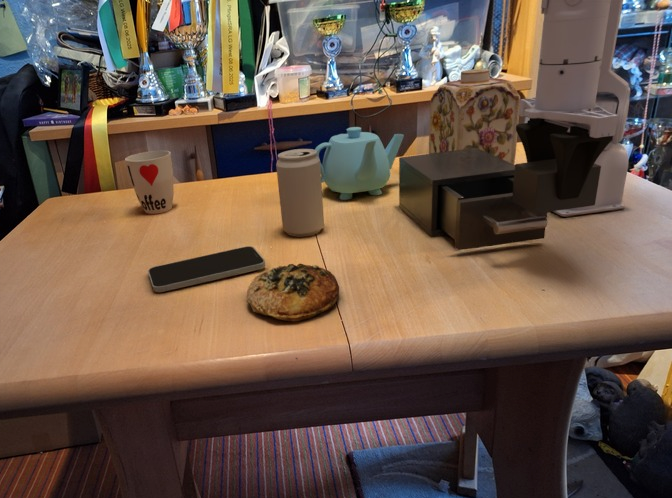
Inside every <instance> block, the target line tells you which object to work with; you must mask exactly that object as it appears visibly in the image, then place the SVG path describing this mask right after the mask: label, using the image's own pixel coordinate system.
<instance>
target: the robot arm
mask: <svg viewBox="0 0 672 498" xmlns="http://www.w3.org/2000/svg"><path fill="white" fill-rule="evenodd" d="M623 5H624V0H541V5H540V8H541V11H540V13H541V15H543V23H542V32H541V40H540V41H541V42H540V51H539V62H538V69H537V70H538V71H537V80H536V87H535V88H536V89H535V90H536V91H535V97H528V98H520V111H519V117H520V118H528V119H529V120H527V122H523V123H519V124H518V125H516V131H517V136H518V138H519V139H520V142H521V144H522V147H523V150H524V155H525V158H526V163H528V162H535V161H543V160H550V159H556V166H557V176H556V190H557V197H558V199H560V200H565V199H572V198H578V197H579V195H580V192H581V190H582V188H583V186H584V183H585V181H586V179H587V177H588V174H589V172H590V170H591V168H592V167H593V165H594V164H597V165H600V166H601V171H600V177H599V183H598V189H597V195H596V202H595V205H594V206H587V207H579V208H572V209H565V210H558V211H551V212H552V213H554V214H556V215H558V216H560V217H563V218H564V217H572V216H579V215H586V214H593V213H594V214H595V213H601V212H602V213H603V212H608V211H615V210H624V209H625V208H626V205H625V204H623V203H622V202H623V196H624V192H625V191H624V190H625V187H626V180H627V175H628V169H629V156H628V152H627V149H626V148H625V146H623V145H622V144H620V142H622V141H623V138H624V136H625V135H624V134H625V130H626V125H627V120H628V115H629V107H630V97H631V88H630V84H629V82H628V81H626V80H625V79H624V78H622V77H621V76H620V75H618V74H617V73H616V72H614V70H612V68H613V61H614V55H615V50H616V44H617V39H618V33H619V28H620V22H621V15H622V10H623ZM597 95H611V96H602V97H601V96H600V97H599V96H597Z"/></svg>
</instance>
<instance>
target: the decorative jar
mask: <svg viewBox="0 0 672 498" xmlns="http://www.w3.org/2000/svg"><path fill="white" fill-rule="evenodd" d="M520 100H521V95H520V94H519V93H518V90H517V89H516V87H515V86H514V84H513V82H512V81H511V80H508V79H503V78H498V77H497V78H496V77H494V78H493V77H490V69H488V68H476V69H475V68H474V69H464V70H461V72H460V79H458V80H453V81H452V80H451V81H448V82H444V83H443V84H440V85H439V86H438V87H437V89H436V90H435V92H434V93H433V94H432V96H431V97H430V107H429V129H428V130H429V131H428V132H429V133H428V154H431V153H439V152H447V151H454V150H462V149H470V148H478V149H481V150H483V151H485V152H487V153H490V154H492V155H494V156H496V157H498V158H501V159H503V160H505V161H507V162H510V163H512V164H514V165H515V164H516V163H515V162H516V155H517V146H518V145H517V144H518V133H517V131H516V125H518V124H520V116H519V111H520Z"/></svg>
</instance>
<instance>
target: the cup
mask: <svg viewBox="0 0 672 498" xmlns="http://www.w3.org/2000/svg"><path fill="white" fill-rule="evenodd" d="M172 161H173V160H172V154H171V151H169V150H151V151H143V152H138V153H134V154H131V155H129V156H126V157H125V158H124V162H125V165H126V169H127V172H128V176H129V178H130V179H129V180H130V182H131V185H132V187H133V190H134V192H135V193H134V194H135V196H136V197H137V201H138V202H139V204H140V206H141V207H142V210H143V211H144V212H145V213H146V214H149V215H150V214H151V215H154V214H155V215H156V214H163V213H165V212H168V211H171V210H172V208H173V204H174V203H173V202H174V193H175V191H174V190H175V189H174V171H173V162H172Z"/></svg>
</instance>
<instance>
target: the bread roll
mask: <svg viewBox="0 0 672 498" xmlns="http://www.w3.org/2000/svg"><path fill="white" fill-rule="evenodd" d="M339 295H340V285H339V283H338V280H337V278H336V277H335V275H334V274H333V273H332V272H331V271H330V270H329V269H325V268H323V267H320V266H318V265H316V264H313V265H311V264H304V263H298V264H297V265H295V264H294V263H289V264H287V265H279V266H277V267H273V268H271V269H270V270H267V271H264V272H262V273H260V274H258V275H256V276H255V277H254V278H253V279H252V280H251V282H250V283H249V285H248V289H247V290H246V301H247V303H248V304H249V306H250V307H251V309H252V312H253V313H257V314H259V315H264V316H270V317H272V318H274V319H276V320H281V321H286V322H287V321H288V322H298V321H302V320H309V319H310V318H312V317H315V316H316V315H318V314H321V313H323V312H325V311H328V310H331V308H332V307H333V306H334V305H335V304H336V302H338V300H339Z"/></svg>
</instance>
